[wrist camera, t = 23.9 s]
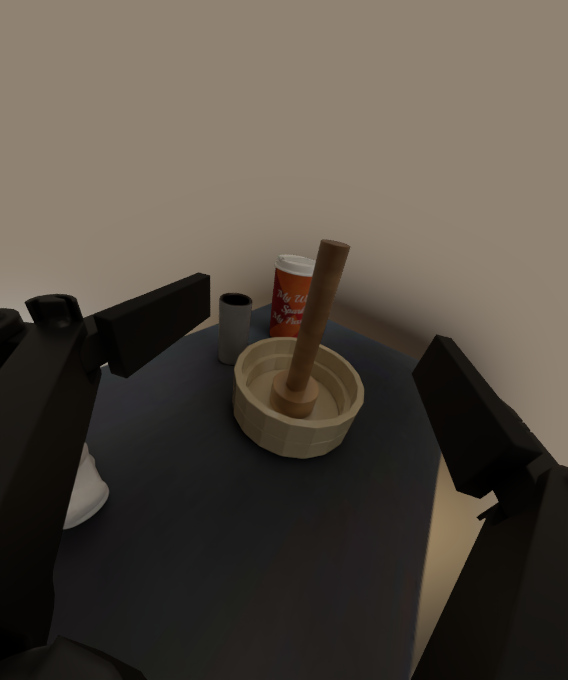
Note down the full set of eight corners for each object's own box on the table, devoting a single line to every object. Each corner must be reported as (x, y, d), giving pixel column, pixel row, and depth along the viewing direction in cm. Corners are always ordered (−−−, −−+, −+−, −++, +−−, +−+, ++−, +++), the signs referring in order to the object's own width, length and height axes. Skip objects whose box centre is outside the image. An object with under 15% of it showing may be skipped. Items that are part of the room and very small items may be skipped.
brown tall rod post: (317, 394, 32) (370, 247, 21) (307, 427, 27) (369, 256, 16) (278, 379, 33) (310, 233, 22) (262, 408, 28) (293, 237, 18)
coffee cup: (268, 346, 41) (281, 264, 33) (261, 324, 48) (271, 251, 40) (309, 346, 44) (331, 270, 36) (297, 325, 50) (313, 256, 42)
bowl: (351, 389, 35) (365, 359, 32) (339, 487, 22) (361, 454, 19) (262, 356, 38) (267, 326, 35) (206, 426, 25) (205, 389, 22)
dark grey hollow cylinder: (248, 364, 36) (255, 306, 30) (219, 366, 34) (220, 305, 29) (243, 348, 39) (249, 293, 34) (217, 349, 38) (218, 291, 32)
